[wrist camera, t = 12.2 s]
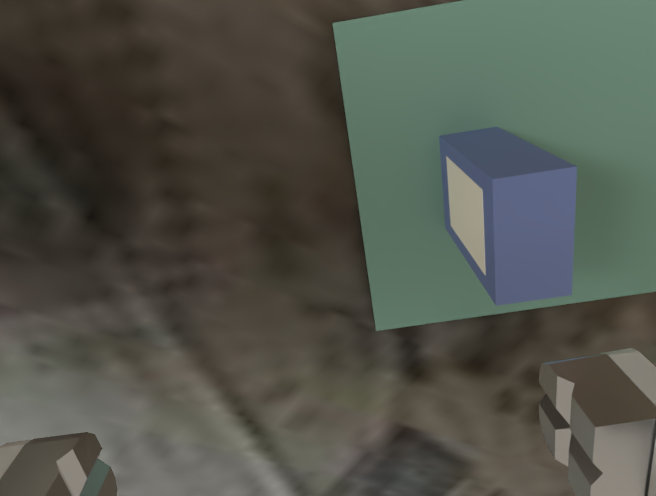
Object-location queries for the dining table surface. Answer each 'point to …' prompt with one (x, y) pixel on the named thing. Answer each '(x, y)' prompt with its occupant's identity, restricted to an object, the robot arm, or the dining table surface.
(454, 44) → the mat
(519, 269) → the block
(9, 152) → the dining table surface
